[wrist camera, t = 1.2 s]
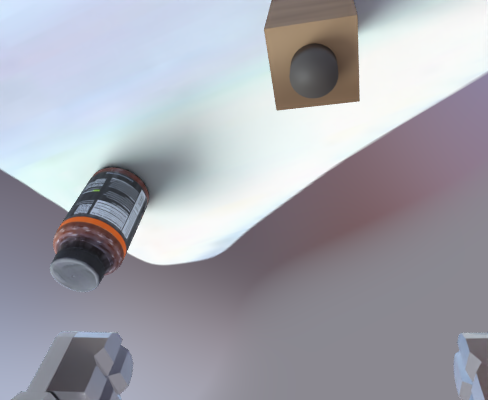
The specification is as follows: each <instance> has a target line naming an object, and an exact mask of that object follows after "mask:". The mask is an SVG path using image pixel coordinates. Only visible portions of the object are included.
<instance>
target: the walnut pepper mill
mask: <svg viewBox="0 0 488 400" xmlns="http://www.w3.org/2000/svg"><path fill="white" fill-rule="evenodd" d="M264 32H265V38H266V45H267V51H268V58H269V64H270V71H271V77H272V83H273V90H274V96H275V103H276V109H277V110H285V109H294V108H303V107H312V106H321V105H330V104H339V103H348V102H357V101H359V60H358V19H357V11H356V7H355V4H354V0H272V1H271V5H270V9H269V12H268V16H267V20H266V24H265V28H264Z"/></svg>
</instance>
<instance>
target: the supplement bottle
mask: <svg viewBox="0 0 488 400" xmlns="http://www.w3.org/2000/svg"><path fill="white" fill-rule="evenodd" d="M148 200H149V194H148V190H147V188H146V186H145V184H144V183H143V182H142V180H141V179H140V178H139V177H137V176H136V175H135V174H133V173H131V172H129V171H128V170H125V169H121V168H115V167H110V168H104V169H101V170H99V171H98V172H96V173H95V174H94V175H93V177H92V178H91V179H90V180H89V182H88V183H87V185H86V187H85V188H84V190H83V191H82V193H81V194H80V196H79V197H78V199H77V200H76V202H75V203H74V205H73V206H72V208H71V210H70V211H69V213H68V214H67V216H66V218H65V219H64V220H63V222H62V224H61V225H60V227H59V228H58V230H57V232H56V234H55V236H54V240H53V247H54V250H55V253H56V256H55V258H54V260H53V262H52V263H51V265H50V272H51V275H52V276H53V277H54V279H55V280H56V281H57V282H58V283H59V284H61V285H62V286H64V287H66V288H68V289H71V290H74V291H78V292H88V291H92V290H94V289H95V288H97V286H98V285H99V283H100V281H101V280H102V278H103V277H104V275H108V274H110V273H112V272H114V271H115V270H117V269H118V267H119V266H120V265H121V263H122V261H123V259H124V257H125V255H126V253H127V250H128V248H129V246H130V243H131V241H132V239H133V237H134V235H135V232H136V230H137V228H138V225H139V223H140V221H141V219H142V216H143V215H144V212H145V210H146V207H147V204H148Z"/></svg>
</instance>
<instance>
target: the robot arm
mask: <svg viewBox="0 0 488 400" xmlns="http://www.w3.org/2000/svg"><path fill="white" fill-rule="evenodd" d="M121 342H122V338H121V337H120V335H119V334H118V332H80V331H77V332H61V333H59V334H58V335H57V336H56V337H55V339H54V341H53V343H52V344H51V346H50V348H49V350H48V352H47V354H46V356H45V357H44V359H43V361H42V363H41V365H40V367H39V368H38V370H37V372H36V374H35V376H34V378H33V380H32V381H31V383H30V385H29V387H28V389H27V391H21V392H20V393H19V394H17V395H16V396H15V397H14V398H12V399H11V400H121V397H120V394H121V393H122V392H123V391H124V390H125V389H126V388H127V387H128V386H129V383H130V380H131V377H132V371H133V361H132V356H131V354H130V352H129V350H128V349H126V348H125V347H123V346H121ZM457 343H458V346H459V350H460V351H459V352H457V353H456V354H455V357H454V377H455V383H456V387H457V391H458V395H459V397H460V398H461V399H462V400H488V333H461V334H460V335H459V337H458V342H457Z"/></svg>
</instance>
